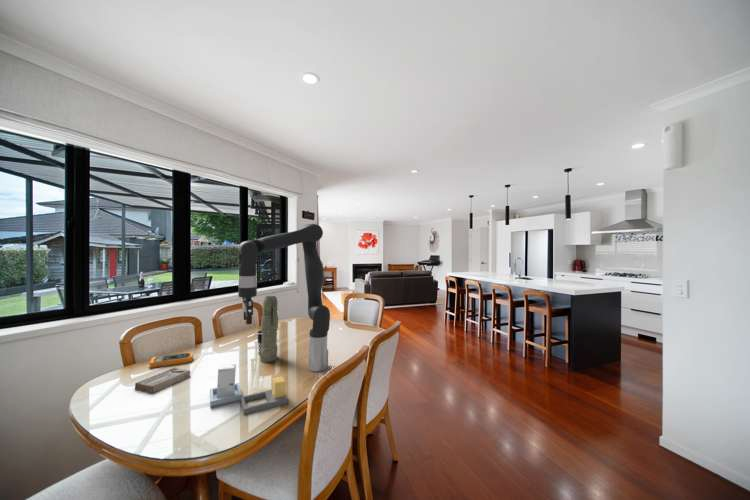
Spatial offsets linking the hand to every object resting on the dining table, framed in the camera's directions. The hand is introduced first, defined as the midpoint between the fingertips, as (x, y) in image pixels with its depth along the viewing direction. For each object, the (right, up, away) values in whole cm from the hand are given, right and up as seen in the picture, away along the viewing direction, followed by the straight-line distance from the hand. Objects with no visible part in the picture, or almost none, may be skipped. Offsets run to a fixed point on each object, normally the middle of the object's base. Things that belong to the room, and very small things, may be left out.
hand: (247, 321), depth 125 cm
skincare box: (-4, -28, -10) cm, 30 cm away
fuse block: (+12, -29, -13) cm, 34 cm away
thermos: (-2, -29, +30) cm, 42 cm away
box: (-38, -28, +1) cm, 47 cm away
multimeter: (-50, -28, +22) cm, 61 cm away
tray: (-4, -29, -10) cm, 31 cm away
